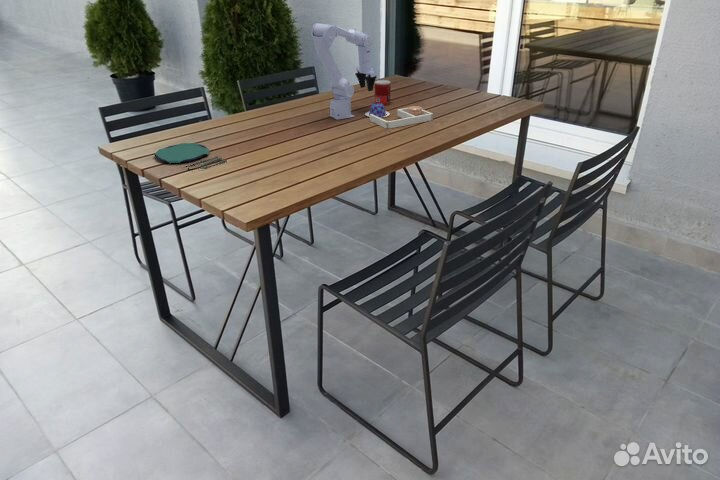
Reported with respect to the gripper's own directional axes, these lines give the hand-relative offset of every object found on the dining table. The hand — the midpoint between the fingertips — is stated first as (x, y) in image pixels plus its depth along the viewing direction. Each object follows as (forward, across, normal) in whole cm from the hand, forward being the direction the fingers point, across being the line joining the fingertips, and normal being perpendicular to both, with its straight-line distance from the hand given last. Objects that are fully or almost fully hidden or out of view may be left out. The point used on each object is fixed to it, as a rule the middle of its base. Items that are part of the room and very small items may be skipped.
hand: (366, 89), depth 265 cm
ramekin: (+10, -25, -11) cm, 29 cm away
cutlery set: (+4, -24, +94) cm, 97 cm away
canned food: (+11, +5, -12) cm, 17 cm away
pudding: (+10, -11, +1) cm, 15 cm away
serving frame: (+10, -25, -3) cm, 27 cm away
